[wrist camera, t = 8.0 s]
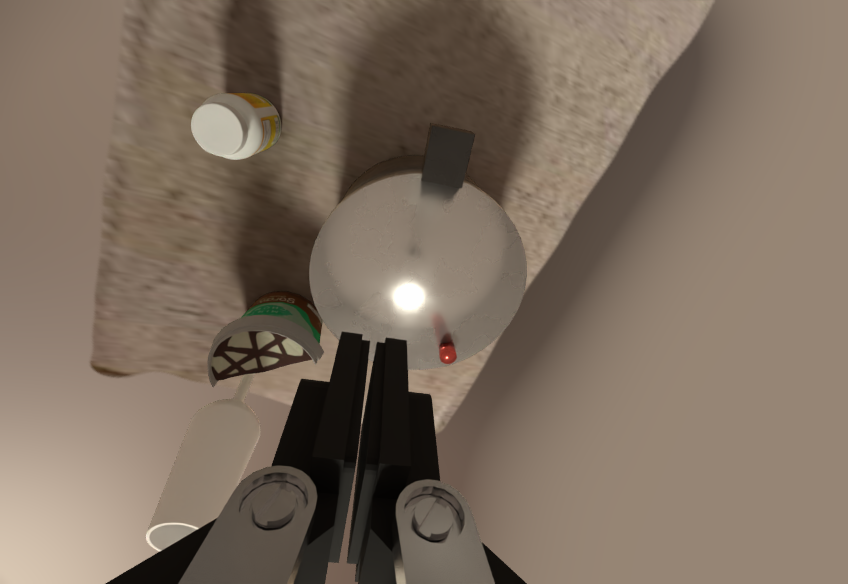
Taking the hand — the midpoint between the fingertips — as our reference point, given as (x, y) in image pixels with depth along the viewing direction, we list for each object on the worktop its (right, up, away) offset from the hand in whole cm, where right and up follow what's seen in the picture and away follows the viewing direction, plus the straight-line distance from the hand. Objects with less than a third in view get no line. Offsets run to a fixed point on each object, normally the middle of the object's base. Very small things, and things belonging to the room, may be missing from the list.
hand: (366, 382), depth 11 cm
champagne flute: (-19, -5, +43) cm, 47 cm away
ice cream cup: (-16, +1, +40) cm, 44 cm away
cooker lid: (+1, +5, +26) cm, 27 cm away
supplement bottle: (-15, +20, +31) cm, 40 cm away
